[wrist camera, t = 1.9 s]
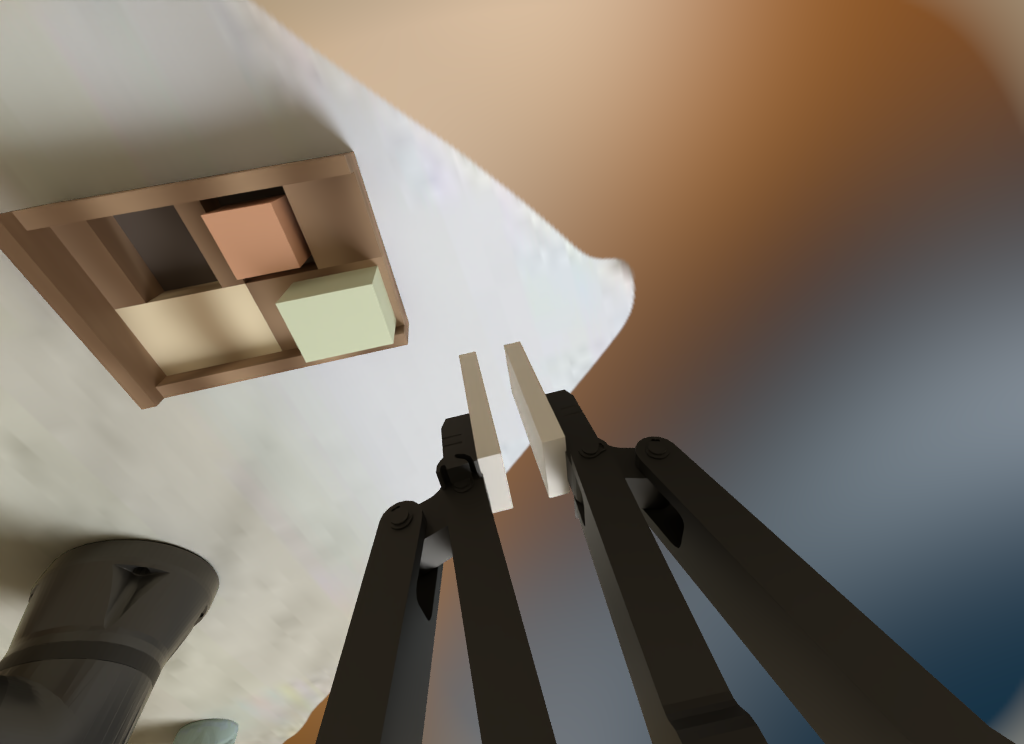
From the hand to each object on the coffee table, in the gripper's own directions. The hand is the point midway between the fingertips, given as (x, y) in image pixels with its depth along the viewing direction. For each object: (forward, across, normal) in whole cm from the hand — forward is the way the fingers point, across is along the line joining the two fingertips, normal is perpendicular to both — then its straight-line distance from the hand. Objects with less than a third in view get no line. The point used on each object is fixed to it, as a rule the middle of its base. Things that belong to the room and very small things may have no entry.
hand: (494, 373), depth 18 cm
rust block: (+16, +12, -6) cm, 21 cm away
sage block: (+14, +9, 0) cm, 17 cm away
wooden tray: (+16, +15, -3) cm, 22 cm away
